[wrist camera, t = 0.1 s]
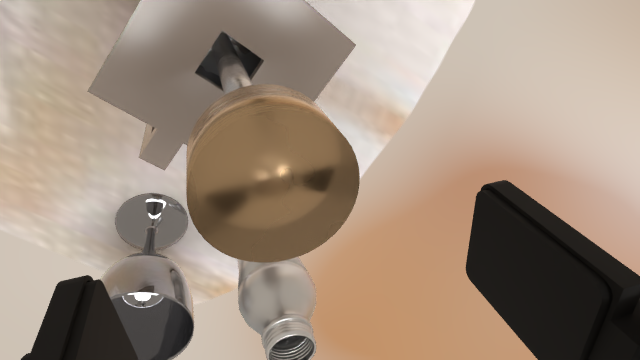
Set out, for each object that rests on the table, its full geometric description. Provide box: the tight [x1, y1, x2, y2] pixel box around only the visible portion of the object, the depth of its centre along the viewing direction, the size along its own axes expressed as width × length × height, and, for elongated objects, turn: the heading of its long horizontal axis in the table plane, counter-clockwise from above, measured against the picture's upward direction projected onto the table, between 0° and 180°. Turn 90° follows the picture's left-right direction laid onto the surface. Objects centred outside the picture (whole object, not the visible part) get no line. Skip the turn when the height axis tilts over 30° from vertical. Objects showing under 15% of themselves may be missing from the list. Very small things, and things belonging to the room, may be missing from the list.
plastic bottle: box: [238, 257, 316, 360], centre depth 37 cm, size 6×7×20 cm
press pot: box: [87, 0, 356, 170], centre depth 28 cm, size 12×9×19 cm
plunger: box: [187, 31, 359, 263], centre depth 18 cm, size 7×7×19 cm
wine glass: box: [100, 193, 194, 360], centre depth 37 cm, size 8×8×15 cm
